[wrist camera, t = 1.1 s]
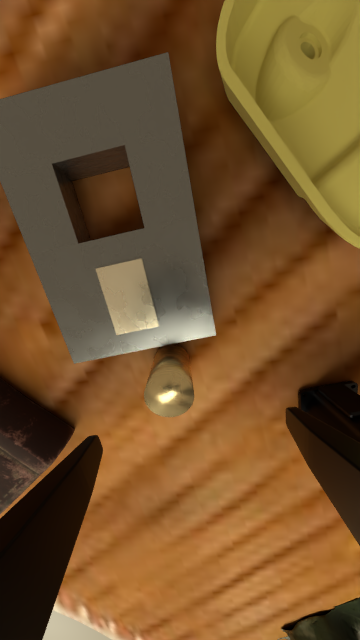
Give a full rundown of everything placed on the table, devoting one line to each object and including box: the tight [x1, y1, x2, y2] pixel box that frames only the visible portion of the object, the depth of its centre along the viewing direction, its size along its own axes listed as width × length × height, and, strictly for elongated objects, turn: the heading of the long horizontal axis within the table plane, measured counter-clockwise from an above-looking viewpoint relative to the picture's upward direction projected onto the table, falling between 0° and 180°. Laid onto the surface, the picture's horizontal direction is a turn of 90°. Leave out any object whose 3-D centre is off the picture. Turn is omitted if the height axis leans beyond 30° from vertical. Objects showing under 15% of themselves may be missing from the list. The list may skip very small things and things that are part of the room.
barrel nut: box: [144, 344, 194, 417], centre depth 17 cm, size 4×4×6 cm
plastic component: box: [216, 0, 360, 248], centre depth 13 cm, size 20×8×10 cm
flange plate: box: [0, 52, 216, 363], centre depth 15 cm, size 20×14×3 cm
